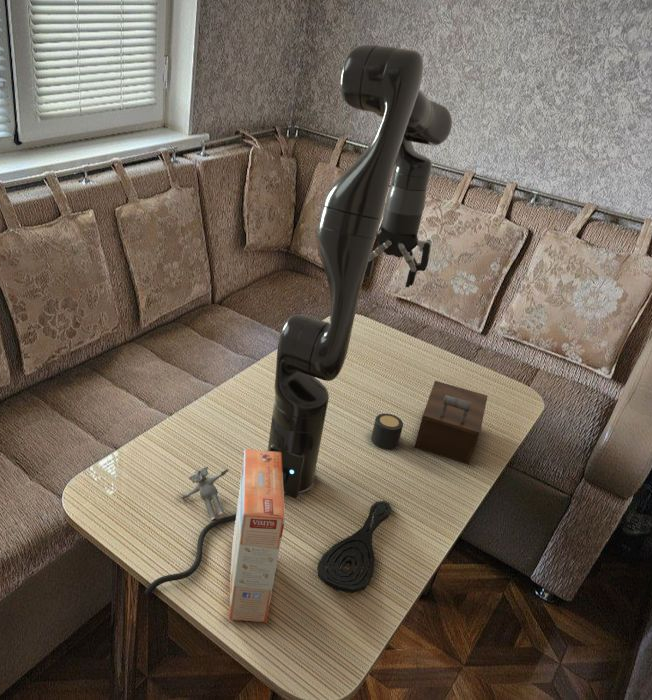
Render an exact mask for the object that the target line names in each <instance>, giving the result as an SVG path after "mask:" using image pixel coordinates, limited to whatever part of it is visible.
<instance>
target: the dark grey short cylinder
mask: <svg viewBox="0 0 652 700" xmlns="http://www.w3.org/2000/svg"><path fill="white" fill-rule="evenodd" d="M403 427H404V422H403V421H402V418H400V417H398V415H395V414H391V413H380V414H378V415H376V416H375V419H374V423H373V427H372V433H371V437H370V440H371V443H372V444H373V445H374V446H375V447H378V448H380V449H382V450H395V449H396V448H397V447H398V446H399V444H400V443H399V442H400V439H401V435H402V431H403Z"/></svg>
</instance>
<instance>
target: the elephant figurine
mask: <svg viewBox="0 0 652 700" xmlns="http://www.w3.org/2000/svg"><path fill="white" fill-rule="evenodd" d="M208 469H209V466H204V467H203V468H201V469H198V470H196V471H194V473H193V474H191V475H189V477H188V480H190V481H191V482H192V483H193V484H195V483H196V485H195V486H194V487H193V488H192V489H191V490H190V491H189V492H188V493H185V494H183V495H182V497H180V499H182V500H184V499H187V498H189V497H190V496H191V495H194V494H196V493H198V492H199V496H200V498H201V499H202V501H204V505H205V507H206V509H207V512H208V515H209V518H210V521H211V522H213V521H215V520H217V519H218V517H217V514H218V516H224V515H226V512H225V510H224V508H223V506H222V505H221V502H220V499H219V496H218V492H219V490H218V489H217V487H216V486H215V482H216V481H217V480H218V479H220V478H221V477H223V476H225V475H226V474H227V473H228V472H229V468H226V469H224V470H222V471H220V473H219V474H215V475H212V476H209V477H207V476H208V474H209V473H208V472H209V471H208ZM212 502H213V504H214V506H213V504H212ZM214 507H215V509H216V512H217V514H216V512H215V509H214Z"/></svg>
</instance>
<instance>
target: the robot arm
mask: <svg viewBox="0 0 652 700" xmlns="http://www.w3.org/2000/svg"><path fill="white" fill-rule="evenodd" d="M423 75H424V59H423V56H422V54H421V53H420V52H419V51H417V50H413V49H409V48H404V47H403V48H401V47H395V46H388V45H381V44H373V43H372V44H371V43H369V44H366V43H365V44H364V43H363V44H359V45H357V46H354V48H352V49H351V50H350V51H349V53H348V54H347V55H346V58H345V60H344V62H343V65H342V69H341V73H340V81H339V84H340V85H339V86H340V93H341V97H342V99H343V101H344V102H345V104H347V105H348V106H349V107H351V108H354V109H355V110H359V111H364V112H370V113H373V114H375V115H377V116H379V117H380V118H381V121H380V122H379V123H380V124H379V126H378V127H377V130H376V131H375V134H374V136H373V138H372V140H371V142H370V143H369V145H368V146H367V148H366V149H365V150H364V151H363V152H362V154H361V155H360V156H359V157H358V158H357V159H356V161H354V162H353V163H352V164H351V165H349V167H348V168H347V169H346V170H345V171H344V172H343V173H342V174H341V175H340V176H339V177H338V178H337V179H336V180H335V182H334V183H333V184H332V185H331V186H330V188H329V189H328V191H327V193H326V194H325V197H324V200H323V203H322V208H321V212H320V216H319V220H318V224H317V228H316V233H315V240H316V241H315V242H316V247H317V251H318V254H319V258H320V261H321V264H322V267H323V270H324V274H325V276H326V279H327V283H328V287H329V294H330V314H329V315H330V316H329V322H327V321H324V320H321V319H318V318H315V317H311V316H309V315H305V314H301V313H295V314H292V315H290V316H289V318H287V320H286V321H285V323H284V325H283V326H282V328H281V331H280V334H279V338H278V343H277V350H276V351H277V352H276V362H275V363H276V365H275V376H274V377H275V378H274V387H273V388H274V399H273V400H274V401H273V409H272V415H271V422H270V430H269V436H268V437H269V438H268V445H267V451H273V452H281V453H282V471H283V489H284V496H287V497H290V498H292V499H297V498H298V497H299V496H300V495H305V494H306V493H308V492H309V491H310V490H311V489H312V488H313V487H314V484H315V476H316V475H315V474H316V470H317V463H318V459H319V453H320V448H321V442H322V438H323V437H322V436H323V432H324V426H325V422H326V416H327V410H328V405H329V399H330V395H329V392H328V389H327V387H326V385H324V383H322V382H321V381H320V380H323V381H326V382H332V381H334V380H335V379H336V378H337V377H338V376H339V374H340V373H341V371H342V369H343V366H344V364H345V361H346V359H347V355H348V350H349V347H350V341H351V337H352V332H353V327H354V322H355V316H356V311H357V307H358V303H359V297H360V292H361V289H362V285H363V281H364V278H366V279H370V278H371V276H372V275H373V274H372V273H373V269H374V263H375V258H377V257H378V256H380V255H381V254H382V253H384V254H385V255H386V256H394V257H395V258H399V259H400V258H403V259H404V261H405V263H406V264H407V266H408V267H409V270H408V274H407V277H406V282H405V285H404V286H405V288H410V287H411V286H413V285H414V283H415V279H416V275H417V272H420V271H421V272H425V271H426V270H427V267H428V266H429V265H428V264H429V259H430V253H431V248H432V241H431V240H430V239H427V240H420V239H419V238H418V234H419V229H420V226H421V220H422V217H423V212H424V210H425V204H426V199H427V189H428V185H429V180H430V177H431V173H432V167H433V163H432V160H431V159H430V158H428V157H427V156H426V155H423V154H421V153H420V152H418V151H416V149H415V148H414V145H413V143H416V144H422V145H427V146H438V145H442V144H443V143H444V142H445V141H446V140H447V139H448V138H449V136H450V134H451V132H452V127H453V118H452V114H451V112H450V110H449V109H448V108H447V107H446V106H444V105H443V104H441V103H438V102H436V101H433V100H431V99H429V98H428V97H427V96H426V95H425V94H424V93H423V91H421V90H420V89H421V85H422V81H423ZM390 182H391V183H390ZM382 215H383V216H382ZM381 220H382V221H381ZM380 224H381V226H380ZM379 227H380V229H379ZM376 240H377V241H378V243H379V245H378V246H377V247H375V249H373V248H374V245H375V242H376ZM416 247H418V248H419V251H420V252H421V253H422V254H421V258H420V259H421V260H420V262H418V261H417V259H416V256H415V254H414V251H413V250H414V249H415V248H416ZM365 275H366V276H365ZM233 521H236V513H234V514H230V515H227V516H224V517H221V518H217V520H215V521H211V522H209V523H208V524H207V525H206V526H205V527H204V528H203V529H202V530H201V531H200V534H199V535H198V538H197V545H196V556H195V559H194V562H193V564H192V565H191V566H190V567H189V568H188V569H187V570H185V571H182V572H178V573H172V574H166V575H162V576H161V577H158V578H156V579H155V580H153V581H152V582H150V584H149V585H148V586H147V588H146V589H145V591H144V594H145V595H151V594H152V593H153V591H154V590H155V589H156V588H157V587H159V586H160V585H162V584H165V583H167V582H174V581H179V580H184V579H186V578H188V577H190V576H192V575H193V574H194V573H195V572H196V571H197V570H198V569H199V566H200V565H201V563H202V559H203V551H204V542H205V538H206V536H207V534H208V533H209V532H210V531H211V530H212V529H213V528H215V527H217V526H220V525H223V524H226V523H229V522H233Z"/></svg>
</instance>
